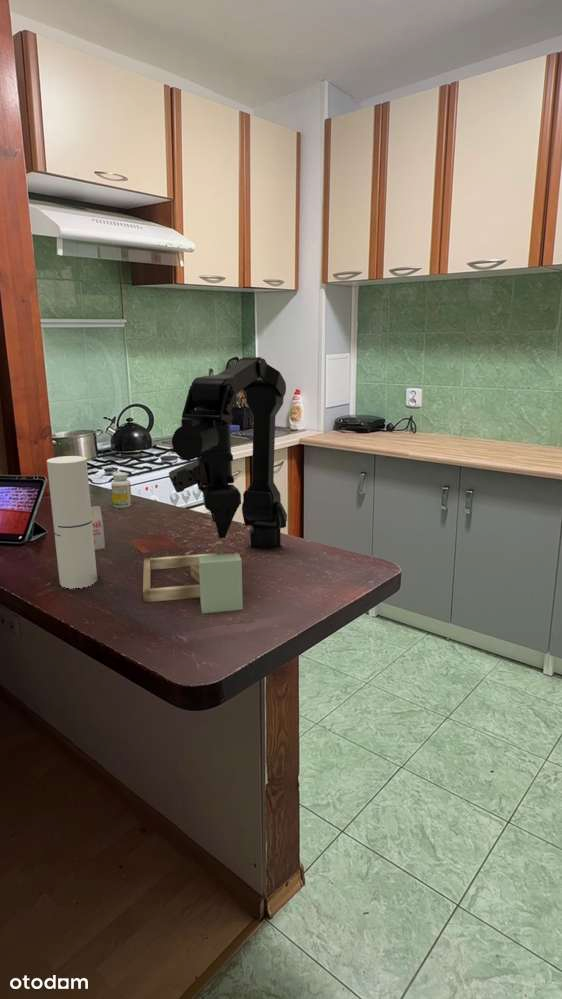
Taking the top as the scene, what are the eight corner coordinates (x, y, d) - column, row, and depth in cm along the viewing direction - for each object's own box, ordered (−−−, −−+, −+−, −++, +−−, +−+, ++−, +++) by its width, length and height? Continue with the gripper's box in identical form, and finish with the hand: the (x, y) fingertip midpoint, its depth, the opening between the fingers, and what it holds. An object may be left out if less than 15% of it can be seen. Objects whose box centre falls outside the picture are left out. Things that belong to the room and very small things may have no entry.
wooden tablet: (207, 568, 130) (207, 560, 130) (162, 576, 125) (162, 569, 125) (165, 534, 152) (164, 528, 152) (125, 540, 148) (125, 534, 147)
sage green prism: (239, 605, 109) (238, 553, 106) (242, 613, 105) (241, 560, 103) (200, 609, 107) (198, 556, 105) (202, 617, 104) (200, 563, 101)
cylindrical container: (84, 590, 117) (72, 464, 110) (52, 586, 119) (38, 462, 112) (104, 577, 124) (93, 456, 117) (73, 573, 125) (61, 455, 119)
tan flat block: (214, 570, 123) (213, 561, 122) (226, 580, 118) (226, 571, 117) (190, 575, 120) (190, 566, 120) (202, 586, 115) (202, 576, 115)
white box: (72, 549, 140) (67, 507, 138) (101, 544, 143) (98, 504, 141) (74, 554, 137) (70, 511, 134) (105, 549, 140) (101, 507, 137)
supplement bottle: (123, 509, 173) (120, 476, 170) (109, 507, 175) (106, 474, 173) (135, 504, 177) (133, 472, 175) (121, 502, 180) (119, 471, 177)
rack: (222, 568, 128) (221, 541, 126) (232, 601, 112) (231, 571, 110) (145, 574, 125) (143, 547, 123) (144, 609, 109) (141, 578, 107)
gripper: (167, 441, 116) (173, 518, 121) (172, 462, 99) (178, 551, 103) (225, 437, 119) (228, 513, 123) (239, 457, 101) (243, 545, 106)
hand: (218, 529), depth 114 cm, fingers open, 9 cm apart
